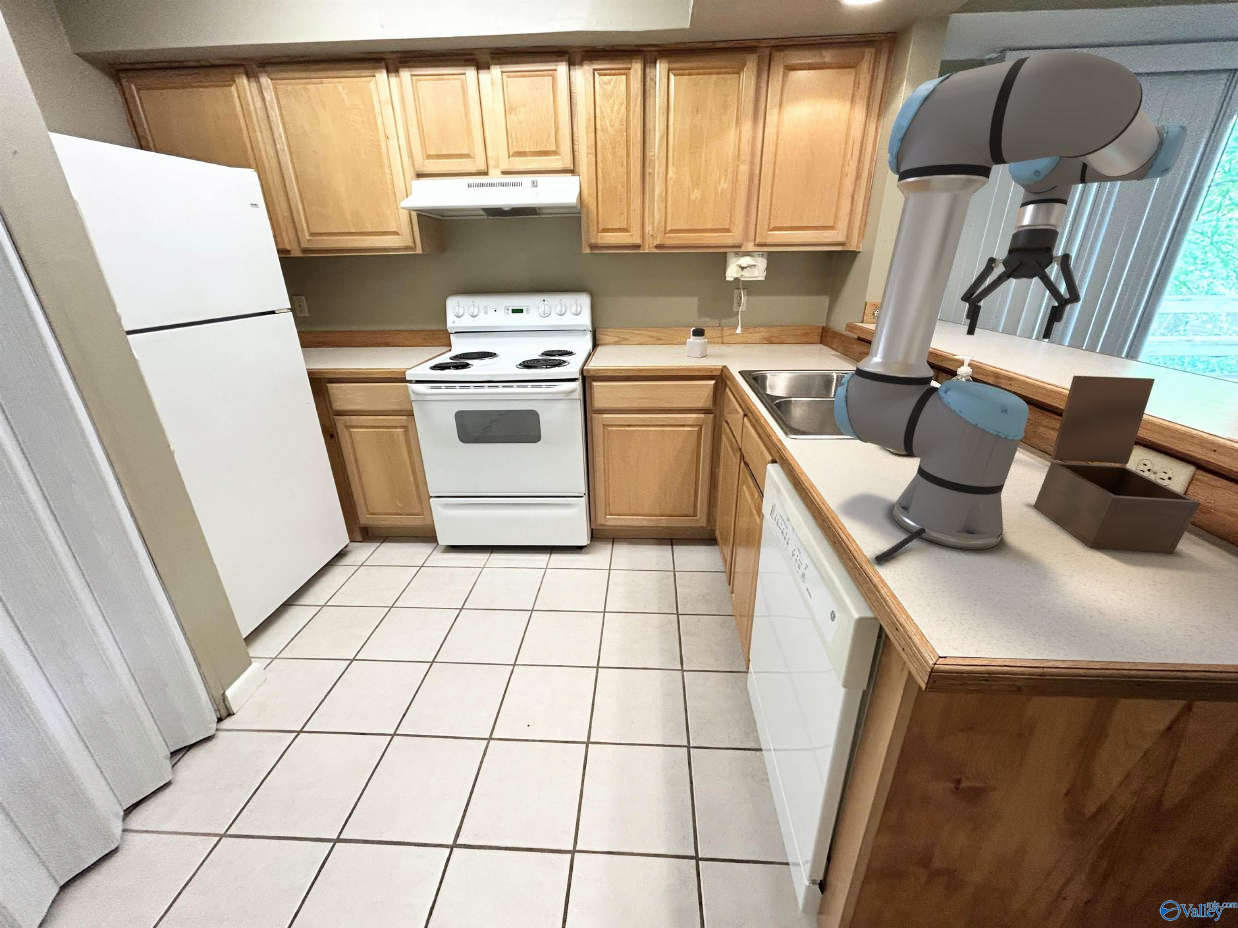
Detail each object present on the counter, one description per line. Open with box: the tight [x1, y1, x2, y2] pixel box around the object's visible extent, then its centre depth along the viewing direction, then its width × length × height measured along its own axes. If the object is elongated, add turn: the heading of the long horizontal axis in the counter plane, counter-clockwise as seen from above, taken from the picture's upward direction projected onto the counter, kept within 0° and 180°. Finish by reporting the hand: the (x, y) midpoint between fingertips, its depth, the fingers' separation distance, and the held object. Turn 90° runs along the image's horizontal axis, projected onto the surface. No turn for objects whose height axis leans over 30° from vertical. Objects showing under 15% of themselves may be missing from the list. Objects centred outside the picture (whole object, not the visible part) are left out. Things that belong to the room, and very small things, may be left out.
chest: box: [1033, 461, 1202, 554], centre depth 80 cm, size 14×12×9 cm
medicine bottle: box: [685, 327, 709, 359], centre depth 214 cm, size 7×7×12 cm
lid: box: [1050, 375, 1155, 465], centre depth 82 cm, size 14×12×1 cm
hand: (1006, 337), depth 106 cm, fingers open, 13 cm apart
